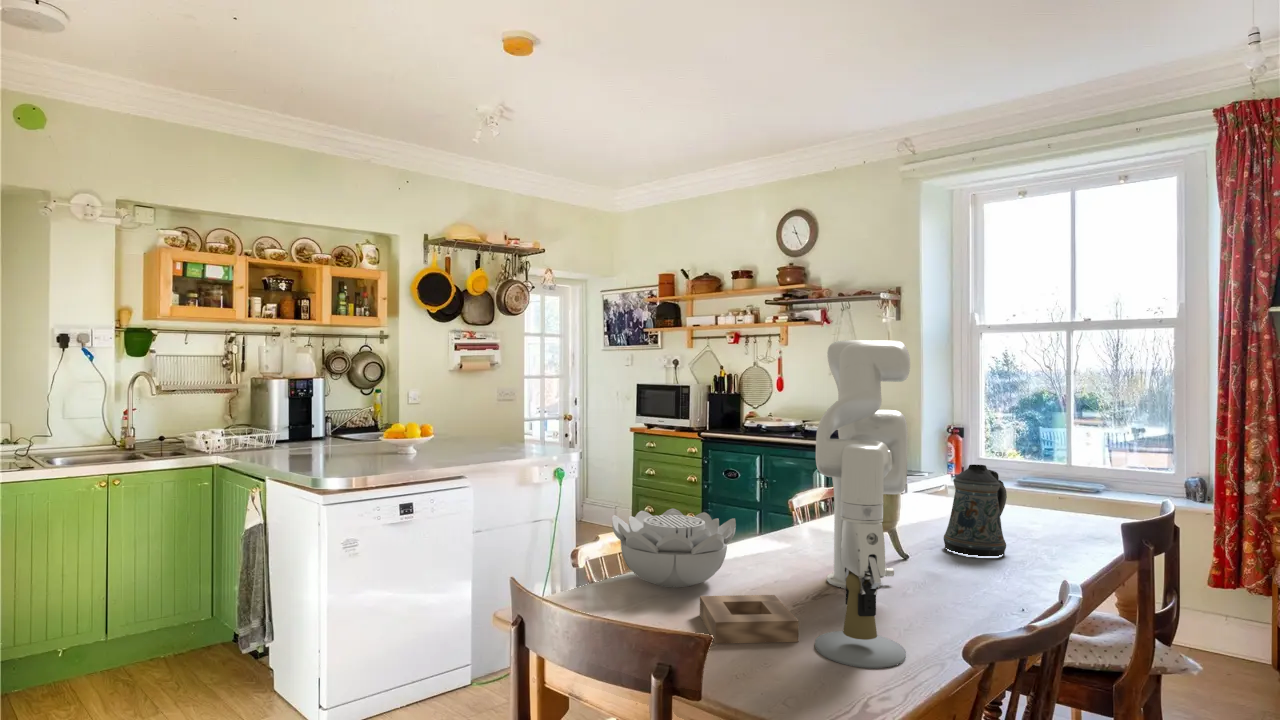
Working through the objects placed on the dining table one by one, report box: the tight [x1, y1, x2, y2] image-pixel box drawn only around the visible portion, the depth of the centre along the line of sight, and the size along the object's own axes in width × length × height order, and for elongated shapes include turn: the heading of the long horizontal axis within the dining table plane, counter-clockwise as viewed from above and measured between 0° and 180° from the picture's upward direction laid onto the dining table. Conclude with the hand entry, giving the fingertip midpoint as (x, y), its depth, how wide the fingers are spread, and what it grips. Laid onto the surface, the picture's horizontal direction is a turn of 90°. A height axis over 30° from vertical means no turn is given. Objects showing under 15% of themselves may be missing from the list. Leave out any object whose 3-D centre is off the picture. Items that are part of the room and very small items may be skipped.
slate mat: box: [814, 630, 907, 669], centre depth 136 cm, size 16×16×1 cm
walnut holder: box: [699, 594, 800, 645], centre depth 147 cm, size 16×16×4 cm
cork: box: [842, 573, 878, 640], centre depth 136 cm, size 6×6×11 cm
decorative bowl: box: [611, 508, 737, 588], centre depth 178 cm, size 30×30×15 cm
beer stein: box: [943, 464, 1008, 556], centre depth 215 cm, size 16×19×25 cm
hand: (860, 609), depth 136 cm, fingers closed on cork, 4 cm apart
